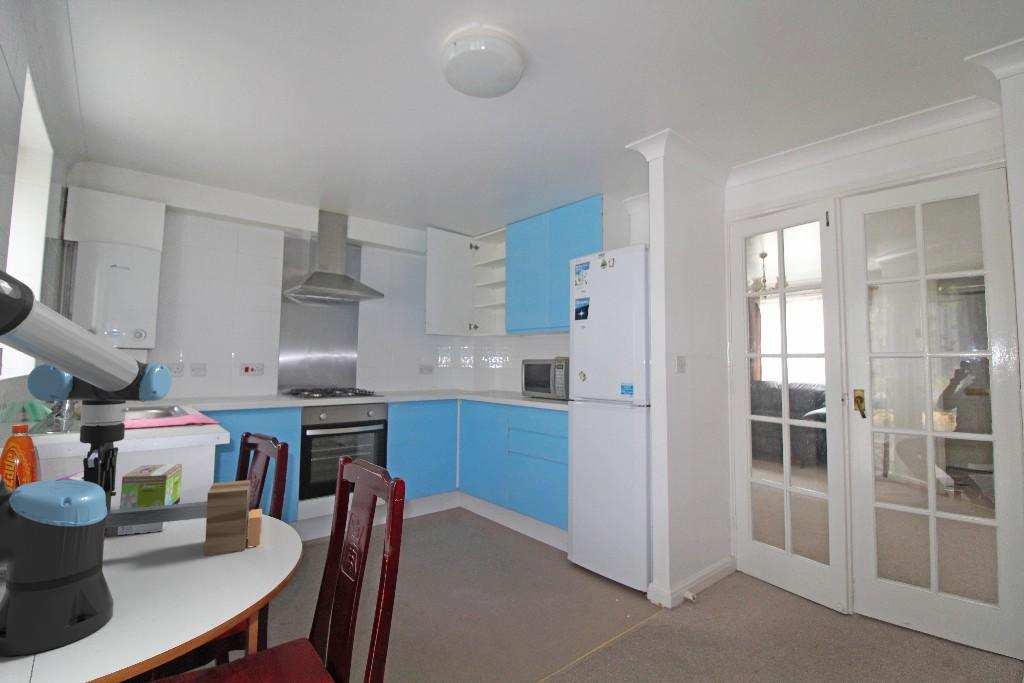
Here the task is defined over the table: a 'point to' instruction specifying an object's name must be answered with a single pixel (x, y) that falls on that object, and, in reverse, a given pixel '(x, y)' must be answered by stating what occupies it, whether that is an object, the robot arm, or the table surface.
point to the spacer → (255, 527)
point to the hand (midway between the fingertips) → (97, 530)
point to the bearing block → (227, 517)
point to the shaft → (152, 513)
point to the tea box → (150, 492)
